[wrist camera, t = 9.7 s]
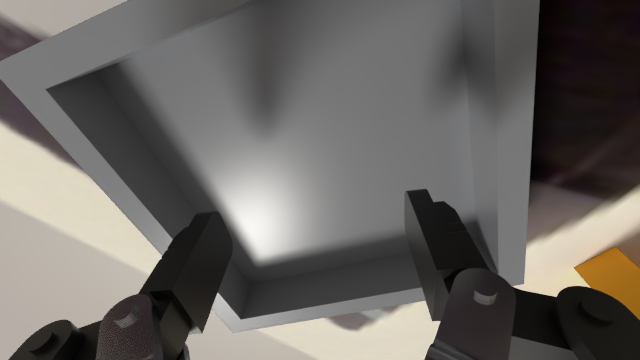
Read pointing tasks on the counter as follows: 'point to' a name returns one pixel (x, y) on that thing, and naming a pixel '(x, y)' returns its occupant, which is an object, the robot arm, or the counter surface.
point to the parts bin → (300, 134)
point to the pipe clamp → (614, 277)
